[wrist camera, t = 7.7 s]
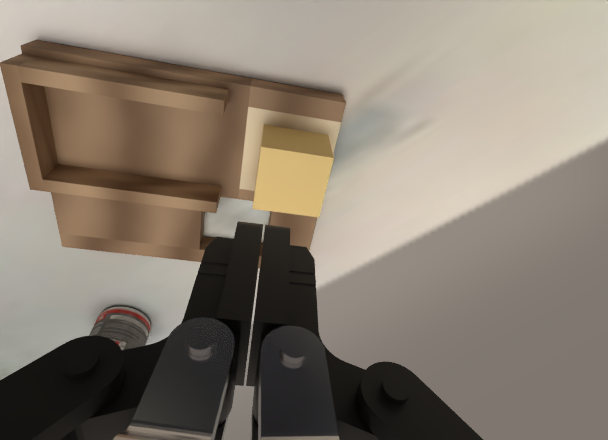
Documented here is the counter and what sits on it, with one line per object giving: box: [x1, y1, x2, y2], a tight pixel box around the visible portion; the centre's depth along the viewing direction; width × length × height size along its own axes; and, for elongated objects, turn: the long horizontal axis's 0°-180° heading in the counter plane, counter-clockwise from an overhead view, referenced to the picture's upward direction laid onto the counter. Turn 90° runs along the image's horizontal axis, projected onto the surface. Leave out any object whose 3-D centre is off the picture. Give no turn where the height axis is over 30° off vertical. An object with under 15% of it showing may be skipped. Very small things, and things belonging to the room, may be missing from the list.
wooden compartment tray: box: [21, 40, 346, 268], centre depth 32 cm, size 22×17×2 cm
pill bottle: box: [89, 307, 151, 350], centre depth 40 cm, size 6×6×10 cm
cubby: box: [0, 54, 229, 213], centre depth 28 cm, size 14×9×2 cm, turn 79°
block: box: [253, 125, 334, 217], centre depth 29 cm, size 5×5×4 cm
